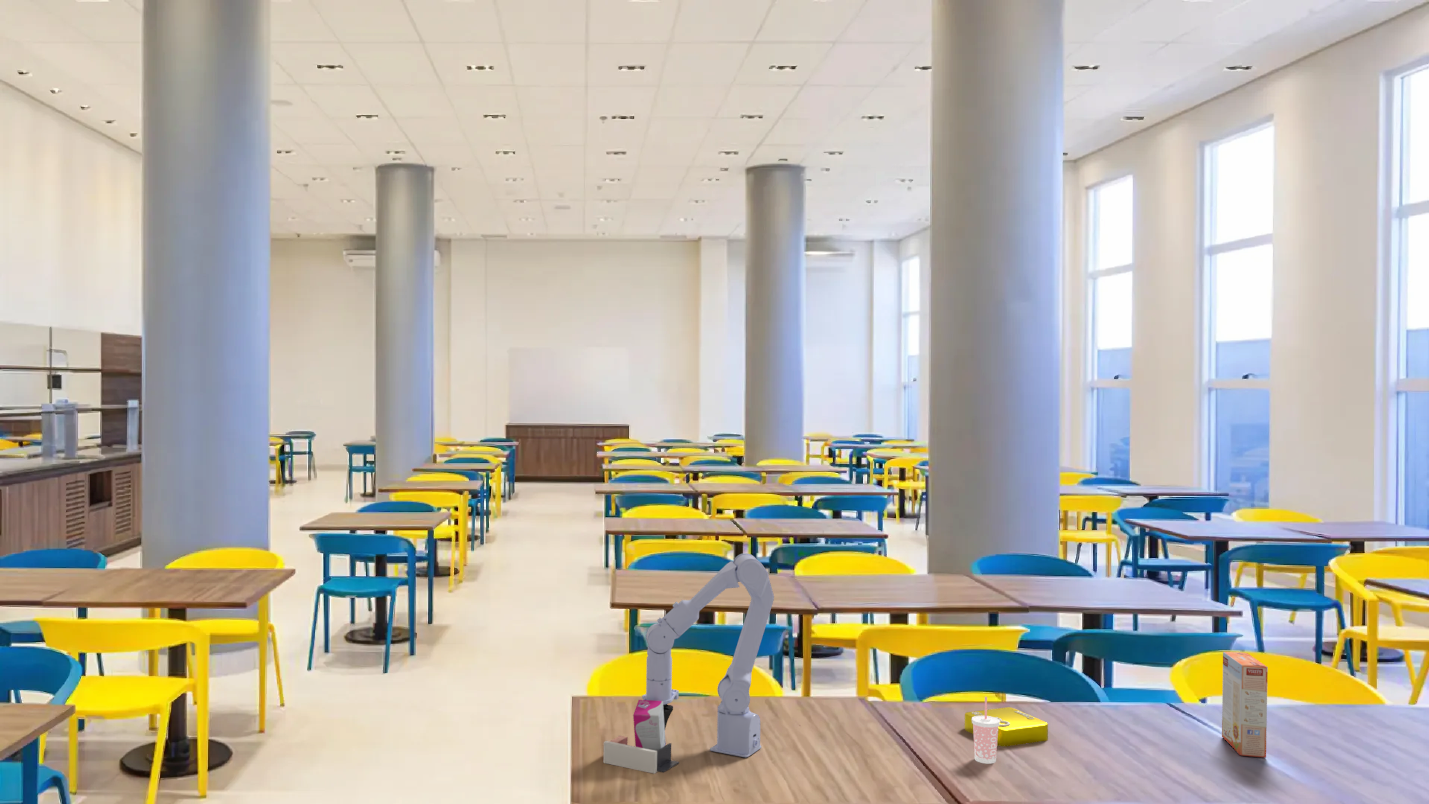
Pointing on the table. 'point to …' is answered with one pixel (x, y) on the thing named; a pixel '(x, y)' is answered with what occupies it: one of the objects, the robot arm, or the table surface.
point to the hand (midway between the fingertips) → (658, 738)
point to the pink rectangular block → (620, 740)
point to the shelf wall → (630, 757)
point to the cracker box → (1244, 704)
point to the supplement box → (649, 725)
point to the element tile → (1012, 726)
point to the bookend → (665, 759)
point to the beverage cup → (985, 737)
